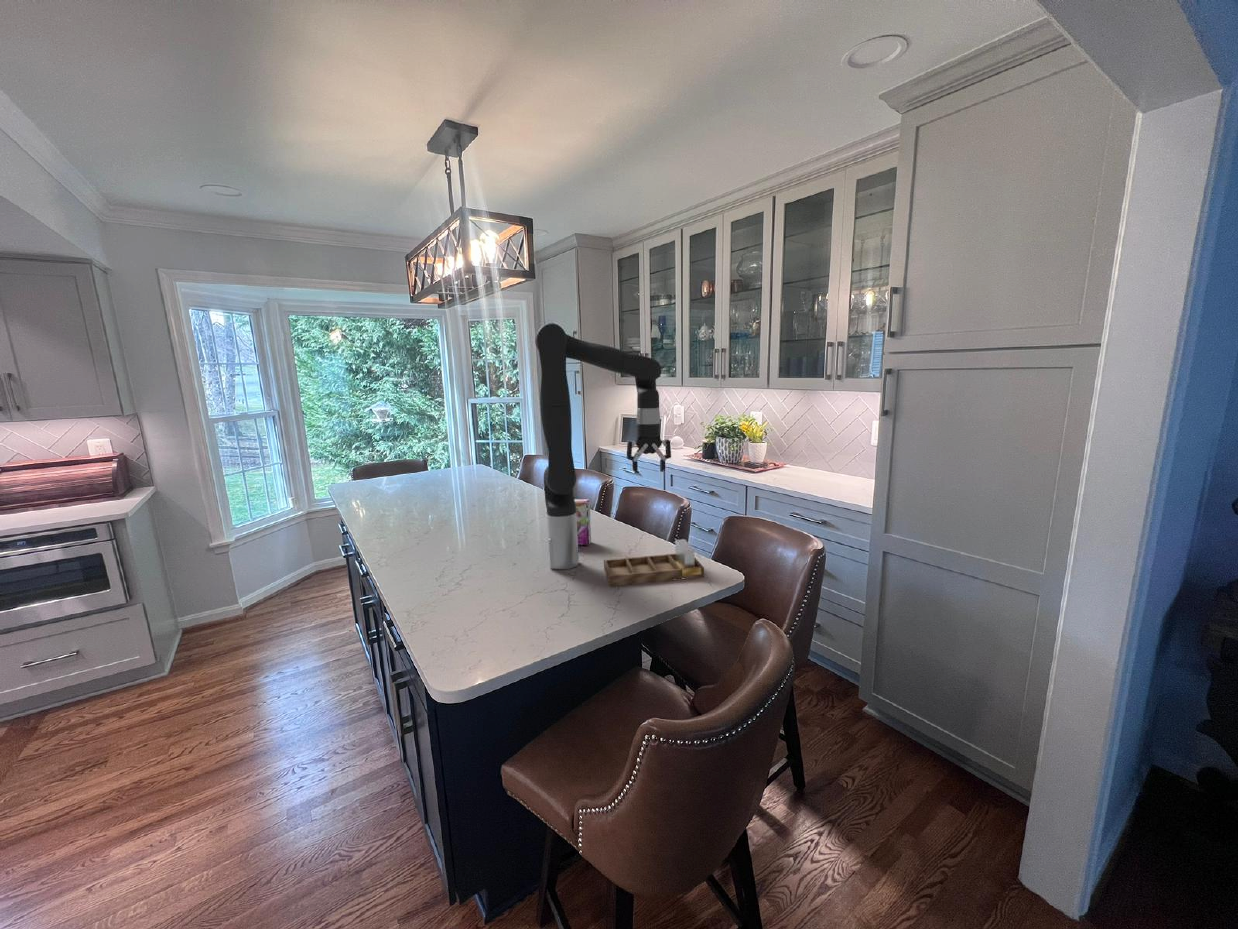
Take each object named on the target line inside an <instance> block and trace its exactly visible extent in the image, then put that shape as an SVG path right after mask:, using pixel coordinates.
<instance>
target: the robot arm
mask: <svg viewBox="0 0 1238 929" xmlns="http://www.w3.org/2000/svg"><path fill="white" fill-rule="evenodd" d="M534 340H535V341H534V342H535V346H536V349H537V350H538V357H539V362H540V370H541V379H540V394H539V406H540V419H541V426H542V432H543V435H544V439H545V442H546V448H547V453H548V454H547V455H548V456H547V457H548V459H547V460H548V466H546V468H545V470H544V473H543V488H544V502H545V506H546V507H545V508H546V516H547V531H548V552H549V554H548V555H549V567H550V569H553V570H554V569H555V570H568V569H569V570H571V569H573V568H575V567H577V566H578V565H579V564H580V562H579V561H580V560H579V559H580V558H579V546H578V538H577V519H576V504H575V501H574V499H575V496H574V488H575V486H576V482H577V474H576V469H575V464H574V457H573V451H572V450H573V449H572V447H573V446H572V434H573V432H572V431H573V430H572V429H573V427H572V425H573V424H572V408H571V407H572V406H571V405H572V404H571V396H570V395H571V394H570V388H569V382H568V376H567V359H571V360H575V361H580V362H583V363H586V364H589V365H591V366H595V367H597V368H601V369H604V370H606V371H611V372H614V373H617V374H621V375H629V376H632V377H634V380H635V388H636V392H637V393H636V394H637V395H636V396H637V397H636V398H637V399H636V402H637V403H636V405H637V408H636V410H637V411H636V420H635V421H636V441H635V440H627V442H626V443H627V444H626V458H627V459H628V460H630V461H632V471H633V472H634V473H635V474H638V472H639V471H638V470H639V468H638V467H639V466H638V464H639V463H638V462H639V461H638V460H639V458H641V456H642V454H644V455H648V454H652V455H653V454H657V456H658V457H659V458H660V459H659V472H660V473H664V471H666V460H668V459H671V458H672V449H671V448H672V447H671V440H670V439H664V440H663V439H661V411H660V393H659V391H658V389H657V380H658V378H660V376H661V374H662V366H661V363H660V362H659V361H658V360H657V359H655V358H651V357H649V356H645V355H640V354H636V353H635V354H634V353H631V352H628V351H626V350H622V349H620V348H616V347H612V346H609V345H605V344H600V343H594V342H589V341H586V340H582V339H579V338H576V337H574V336H571V335H569V334H567V333H566V331H565V330H564V328H563V327H561V326H560V325H559V324H556V323H553V322H552V323H551V322H549V323H546V324H544V325H542V326H540V328H539V329H538V330H537V332H536V335H535V338H534ZM635 445H636V447H637V450H636V452H635V453H634V455H633V456H632V453H633V448H634V447H635ZM662 445H663V447H665V454H664V453H663V452H662V451H661V449H660V448H661V446H662Z"/></svg>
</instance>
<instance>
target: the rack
mask: <svg viewBox="0 0 1238 929" xmlns="http://www.w3.org/2000/svg"><path fill="white" fill-rule="evenodd" d="M603 570H604V573H605V575H606V579H607V581H608V584H609V587H616V586H617V587H618V586H627V585H637V584H638V583H639V584H647V583H646V582H650V583H658V582H657V581H660V582H666V581H665V580H670V581H675V580H674V579H680V580H683V579H682V578H690V579H698V578H700V577H701V578H704V577H705V567H704V566H703V565H702V564H701V563H700V561H699V560H698V559H697V558H696V557H695V556H694V567H693V568H682V569H681V567H680V566H679V565H678V563H677V562H676V553H670V554H669V553H667V554H657V555H646V556H635V557H625V558H623V557H622V558H613V559H611V558H610V559H604V560H603ZM639 584H638V585H639Z"/></svg>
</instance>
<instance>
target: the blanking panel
mask: <svg viewBox="0 0 1238 929" xmlns="http://www.w3.org/2000/svg"><path fill="white" fill-rule="evenodd" d="M674 546H675V554H676V562H677V563H678V565H679V566H680V567H681V569H682V568H693V567H694V557H695V549H694V548H693V546H692V545H691V544H690V543H689V542H688V541H687V540H686V539H685V538H682V539H675V541H674Z"/></svg>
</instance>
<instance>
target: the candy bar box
mask: <svg viewBox="0 0 1238 929" xmlns="http://www.w3.org/2000/svg"><path fill="white" fill-rule="evenodd" d="M574 501H575V504H576V519H577V538H578V547H583V546H582V545H587V546H586V547H588V545H589V544H591V543H592V526H591V524H592V523H591V503H590V502H591V500H590V499H589V498H587V499H585V498H584V499H580V498H578V499H577V498H574ZM579 545H581V546H579ZM589 546H590V545H589Z"/></svg>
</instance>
